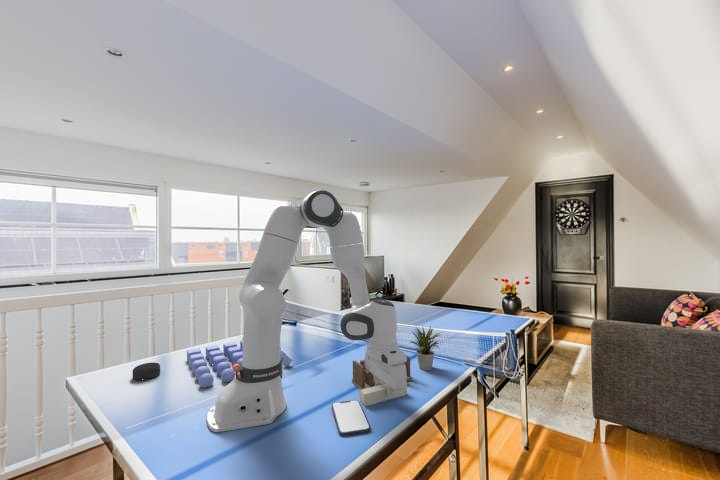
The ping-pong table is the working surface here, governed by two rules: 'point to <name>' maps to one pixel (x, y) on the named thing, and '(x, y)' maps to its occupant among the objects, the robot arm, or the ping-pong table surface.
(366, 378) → the rack
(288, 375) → the ping-pong table surface
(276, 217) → the robot arm
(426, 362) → the house plant
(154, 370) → the smart speaker
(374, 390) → the clay strip
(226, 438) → the ping-pong table surface
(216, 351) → the blocks
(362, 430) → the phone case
